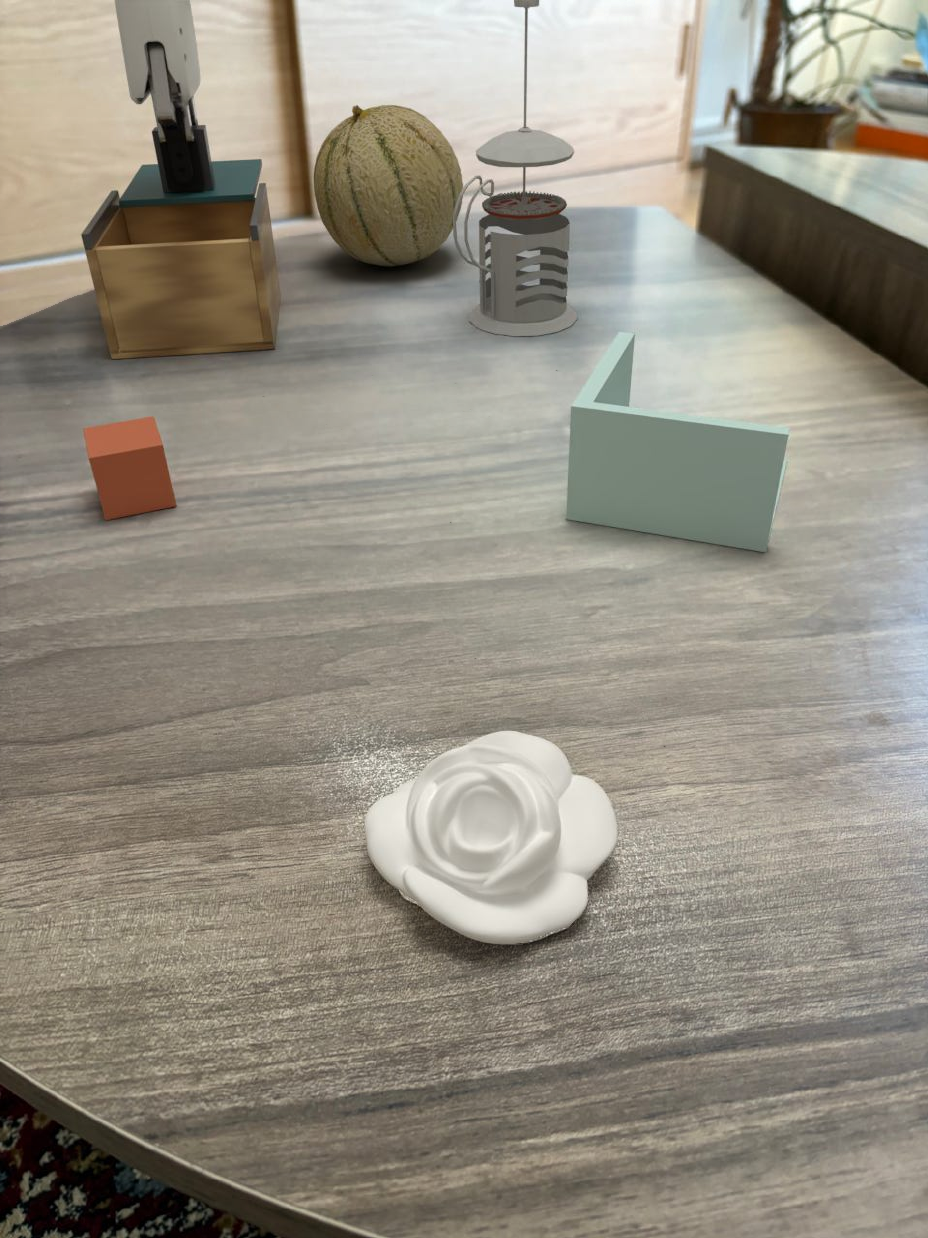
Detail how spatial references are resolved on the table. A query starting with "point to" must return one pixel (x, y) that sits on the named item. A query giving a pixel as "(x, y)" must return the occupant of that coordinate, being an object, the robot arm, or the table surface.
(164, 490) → the block
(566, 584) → the table surface
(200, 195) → the sliding door
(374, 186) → the cantaloupe
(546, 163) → the french press
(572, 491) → the l-shaped corner panel
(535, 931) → the rose
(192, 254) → the wooden box
